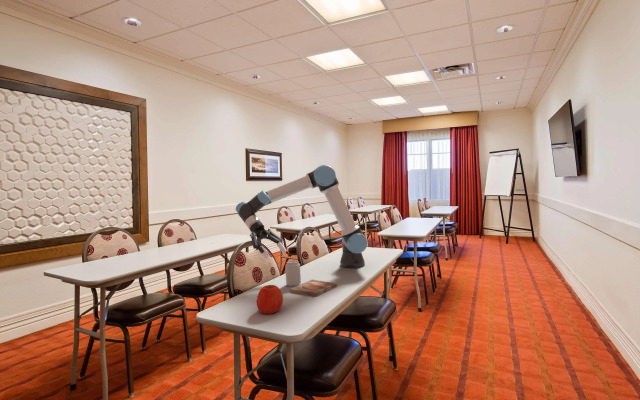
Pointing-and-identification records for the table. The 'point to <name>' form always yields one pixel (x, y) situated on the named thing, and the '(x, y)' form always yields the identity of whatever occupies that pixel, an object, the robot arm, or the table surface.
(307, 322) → the table surface
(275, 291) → the apple
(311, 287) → the board
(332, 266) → the table surface
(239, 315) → the table surface
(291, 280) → the can
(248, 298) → the table surface
